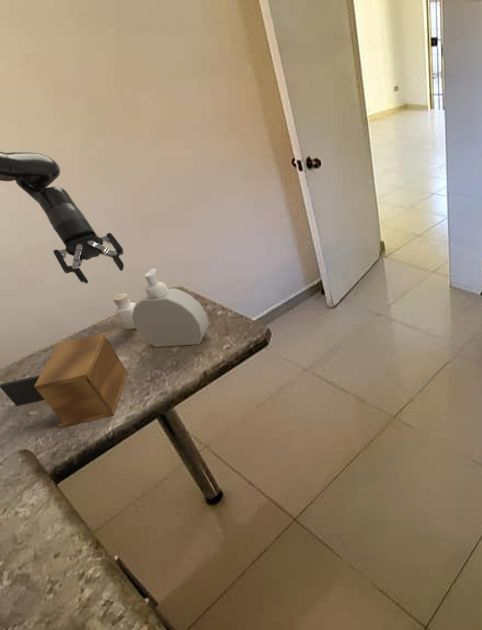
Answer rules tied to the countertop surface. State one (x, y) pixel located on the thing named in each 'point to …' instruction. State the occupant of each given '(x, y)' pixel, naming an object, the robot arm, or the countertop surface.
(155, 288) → the soap bottle
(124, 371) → the wooden box
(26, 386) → the dark grey block
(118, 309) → the white bottle
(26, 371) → the countertop surface
